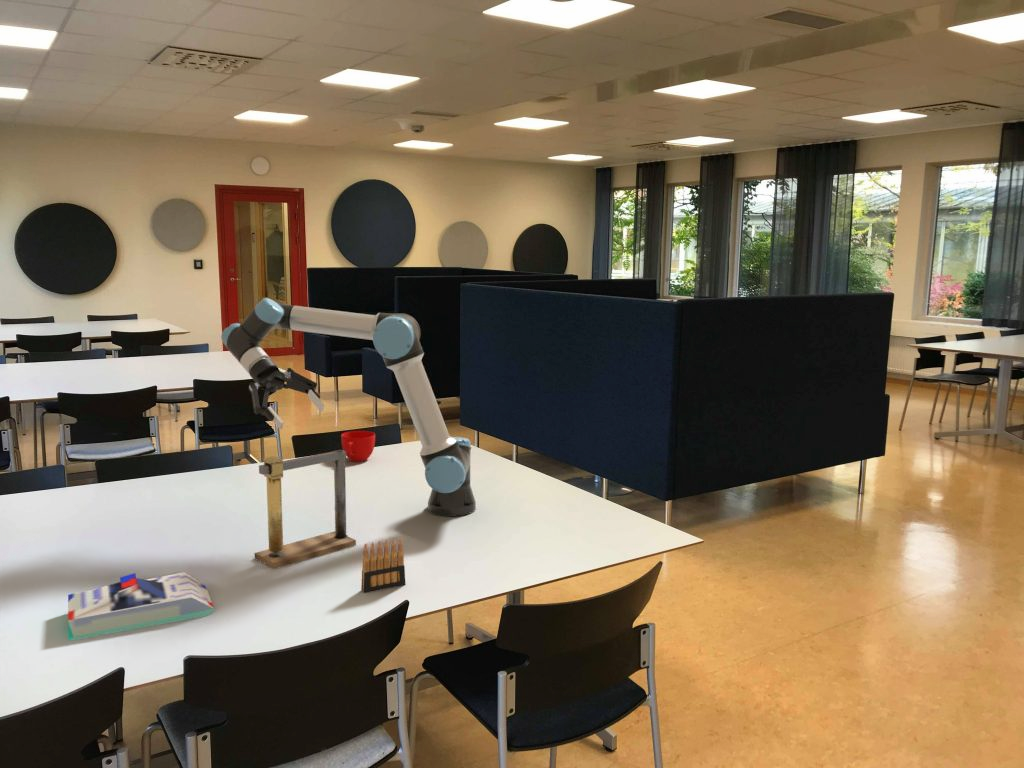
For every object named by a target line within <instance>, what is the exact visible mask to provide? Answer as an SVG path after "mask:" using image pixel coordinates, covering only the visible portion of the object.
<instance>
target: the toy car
mask: <svg viewBox="0 0 1024 768" xmlns="http://www.w3.org/2000/svg"><path fill="white" fill-rule="evenodd" d="M119 579H120V580H119V582H115V583H112V584H109V585H104V586H101V587H97V588H94V589H90V590H85V591H80V592H76V593H70V594H68V595H67V597H68V598H67V615H68V616H67V621H68V632H67V633H68V634H67V635H68V636H67V637H68V642H70V641H75V640H79V639H80V640H81V639H86V638H91V637H96V636H102V635H107V634H113V633H119V632H124V631H129V630H135V629H139V628H146V627H150V626H157V625H164V624H168V623H174V622H175V623H176V622H181V621H185V620H190V619H197V618H203V617H208V616H210V614H211V613H212V612H213V611H214V610H215V607H214V604H213V602H212V599H211V596H210V594H209V591H208V589H207V587H206V585H205V584H204V583H202V582H200V581H198V580H197V579H196V578H194V577H193V576H192V575H189V574H188V573H186V572H184V571H183V572H179V573H173V574H169V575H163V576H157V577H152V578H148V579H144V578H139V577H137V575H136V573H135V572H134V573H131V574H130V573H129V574H127V575H123V576H120V577H119Z"/></svg>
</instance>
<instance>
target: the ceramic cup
mask: <svg viewBox="0 0 1024 768" xmlns="http://www.w3.org/2000/svg"><path fill="white" fill-rule="evenodd" d="M340 437H341V447H342V450H344V451H346V458H348V459H349V460H350V462H366V461H368V459H369V458H370V457H371V456H372V454H373V451H374V449H375V444H376V433H375V432H373V431H368V430H353V431H352V430H351V431H347V432H343V433H341V435H340ZM365 460H366V461H365Z"/></svg>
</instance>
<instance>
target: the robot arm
mask: <svg viewBox="0 0 1024 768" xmlns="http://www.w3.org/2000/svg"><path fill="white" fill-rule="evenodd" d="M277 329H279V330H289V331H297V332H298V331H300V332H304V333H305V332H306V333H312V334H313V333H314V334H322V335H330V336H337V337H338V336H339V337H344V338H345V337H346V338H354V339H362V340H370V341H372V342H373V345H374V348H375V350H376V351H377V352H378V354H379V355H380V356H381V357H382V359H383V362H384V365H385V367H386V368H387V369H389V370H391V371H392V372H393V373H394V375H395V379H396V382H397V384H398V386H399V389H400V392H401V394H402V397H403V400H404V402H405V405H406V407H407V410H408V412H409V415H410V418H411V421H412V423H413V427H414V428H415V430H416V433H417V436H418V439H419V441H420V444H421V450H420V451H419V455H420V458H421V461H422V463H423V466H424V468H425V469H424V477H425V481H426V483H427V485H428V486H429V487H430V488H431V492H430V494H429V498H428V500H427V511H428V512H430V513H431V512H432V513H431V514H434V513H435V514H434V515H437V514H439V515H438V516H443V515H450V516H449V517H457V516H456V515H460V516H465V515H464V514H466V515H469V514H471V513H470V512H472V513H474V512H475V511H476V505H477V504H476V499H475V495H474V493H473V489H472V487H471V450H472V446H471V445H472V444H471V440H470V439H469V438H466V437H460V436H459V437H458V436H451V435H450V434H449V431H448V428H447V425H446V423H445V420H444V417H443V415H442V412H441V410H440V407H439V404H438V402H437V398H436V396H435V394H434V390H433V389H432V385H431V383H430V379H429V377H428V375H427V372H426V370H425V366H424V365H423V361H422V359H423V357H424V355H425V352H424V350H423V349H424V348H423V347H422V345H421V342H420V339H421V328H420V325H419V323H418V321H417V320H416V318H414V317H413V316H411V315H409V314H407V313H404V312H403V313H385V312H378V313H377V314H368V313H367V314H366V313H358V312H357V313H356V312H350V311H343V310H342V311H341V310H336V309H335V310H332V309H326V308H318V307H317V308H316V307H307V306H301V305H293V304H292V305H291V304H286V303H284V302H276V301H274V300H273V299H271V298H269V297H264V298H262V299H261V300H260V301H259V302H258V303H257V304H256V305H255V307H254V308H253V309H252V311H251V312H250V313H249V314H248V315H247V316H246V318H245V319H244V320H243V321H242V323H238V322H235V323H231V324H230V325H229V326H228V327H225V328H224V330H223V331H222V333H221V336H220V337H221V339H220V340H221V342H222V343H223V345H225V347H226V350H227V351H229V353H230V354H232V356H233V357H234V358H235V359H236V360H237V362H238V363H239V364H240V365H241V366H242V368H243V369H244V370H245V371H246V373H247V374H249V376H250V377H251V378H252V380H253V381H254V382H253V381H250V382H249V385H248V391H249V392H250V395H251V399H252V406H253V413H254V414H255V415H259V414H260V415H261V416H264V417H265V418H266V419H267V420H268V421H270V422H271V421H272V422H273V423H274V424H275V425H276V427H277V428H278V429H279V430H283V427H284V423H285V422H284V421H283V420H282V418H281V417H280V416H279V415H278V414H277V412H276V411H275V410H274V409H273V408H272V406H268V403H269V397H270V392H272V393H275V392H276V391H279V390H282V389H289V390H294V391H296V392H300V393H303V394H307V398H308V400H310V402H311V403H312V404H313V405H314V406H315V407H316V408H317V409H318V411H319V412H323V411H324V408H325V404H324V403H323V401H322V400H321V399H320V398H321V397H320V394H318V393H317V391H316V390H317V387H318V383H317V382H316V381H313V380H312V379H309V378H308V377H305V376H303V375H301V374H300V373H297V371H296V372H295V371H294V369H292V368H291V367H287V369H286V370H285V371H281V370H280V369H279V367H278V366H277V364H276V363H275V362H274V361H273V359H271V357H270V356H269V355H268V354H267V352H265V350H264V349H263V348H262V347H261V346H260V343H261V342H262V341H263V340H264V339H265V337H267V336H268V334H269V333H270V332H271V331H273V330H277ZM285 382H286V383H285ZM258 389H261V390H264V395H263V401H262V406H261V405H260V398H259V393H258V392H259V391H258ZM474 510H475V511H474ZM468 513H469V514H468ZM453 515H455V516H453Z"/></svg>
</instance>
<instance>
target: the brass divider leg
mask: <svg viewBox="0 0 1024 768" xmlns="http://www.w3.org/2000/svg"><path fill="white" fill-rule="evenodd" d="M283 461H284V459H283V458H280V457H278V456H275V455H273V456H268V457H263V465H265V464H271V473H270V474H265V475H263V476H264V477H265V478H266V501H267V504H266V505H267V532H268V549H269V551H271V552H274V553H277V552H279V551H282V550H283V545H284V532H283V531H284V529H283V527H284V526H283V499H282V498H283V496H282V478H284V471H283Z"/></svg>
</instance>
